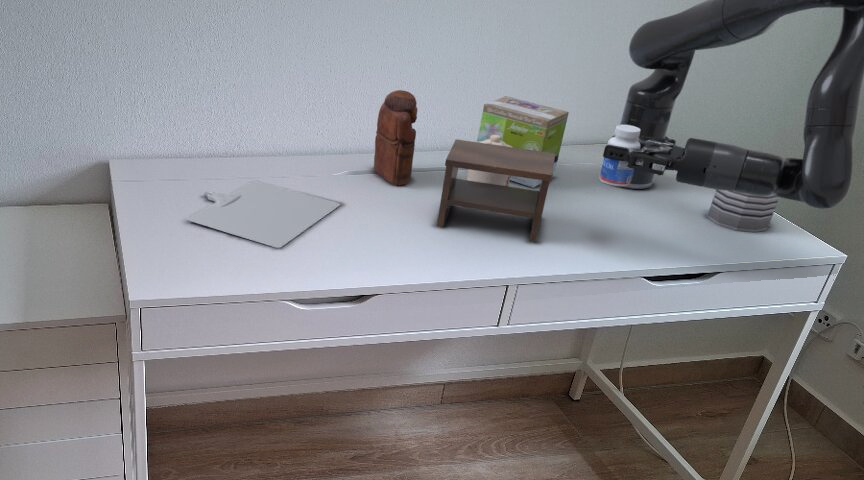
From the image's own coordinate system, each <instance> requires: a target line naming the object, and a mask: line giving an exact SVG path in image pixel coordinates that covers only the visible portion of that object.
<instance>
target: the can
mask: <svg viewBox="0 0 864 480" xmlns="http://www.w3.org/2000/svg"><path fill="white" fill-rule="evenodd" d="M779 199H780V197H776V196H757V195H752V194H746V193H741V192H735V191H727V190H716V189H715V191H714V194H713V198H712V200H711V203H710V207H709V209H708V213H707V219H708V220H710V221H711V222H713V223H715V224H716V225H717V226H720V227H724V228H727V229H729V230H734V231H738V232H747V233H748V232H750V233H758V232H763V231H767V230H768V229H769V227H770V224H771V221H772V218H773V215H774V213H775V210H776V207H777V204H778V202H779Z"/></svg>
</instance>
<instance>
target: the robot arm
mask: <svg viewBox="0 0 864 480" xmlns="http://www.w3.org/2000/svg"><path fill="white" fill-rule="evenodd" d="M821 8H822V9H826V8H827V9H828V8H829V9H830V8H831V9H833V8H834V9H835V8H836V9H839V8H840V9H841V11H842V12H841V13H842V14H841V24H840V29H839V32H838V36H837V38H836V41H835V43H834V45H833V47H832V49H831V51H830V53H829V55H828V56H827V58H826V59H825V61H824V63H823V64H822V66H821V67H820V69H819V70H818V72H817V74H816V76H815V77H814V79H813V81H812V83H811V85H810V88H809V92H808V95H807V100H806V105H805V112H804V122H803V132H802V133H803V136H802V137H803V144H804V148H803V154H802V155H803V156H802V158H797V157H789V156H788V157H787V156H781V155H778V154H776V153H771V152H766V151H761V150H755V149H748V148H744V147H741V146H738V145H734V144H729V143H723V142H717V141H712V140H706V139H702V138H701V139H700V138H694V137H689V138H688V139H687V140H686V143H685V146H684V147H680V146H677V145H676V143H677V140H675V139H673V138H669V137H668V136H666V135H667V132H668V128H669V125H670V122H671V118H672V113H673V111H674V106H675V104H676V102H677V101H676V100H677V98H678V97H679V96H680V94H681V92H682V91H683V88H684V86H685V83H686V80H687V77H688V74H689V71H690V68H691V67H692V66H691V65H692V63H693V60H694V57H695V54H696V51H701V50H703V51H704V50H710V49H718V48H724V47H728V46H729V47H730V46H733V45H736V44H740V43H743V42H746V41H749V40H751V39H755V38H757V37H759V36H761V35H763V34H766V33H767V32H768V31H770V30H771V29H772V28H773V27H774V25H775V24H777V22H778V21H779V19H780V18H782V17H784V16H787V15H791V14H793V13H797V12H802V11H807V10H811V9H821ZM628 53H629V58H630V60H631V61H632V63H633V64H634V65H635V66H637V67H639V68H641V69H645V70H653V71H652V73H651V74H650V75H648V76H647V77H645V78H644V79H642V80H640V81H638V82H635V83H633V84H632V85H631V86H630V87H629V89H628V92H627V95H626V99H625V104H624V108H623V111H622V116H621V120H620V123H619V125H631V126H635V127H638V128H639V129H640V130H641V131H640V135H639V138H638V139H637V141H638V142H639V143H640V149H633V148H630V149H629V150H628V148H625V147H620V146H614V145H607V144H606V145H605V147H604V149H603V154H602V157H603V159H604V158H608V159H614V160H619V161H624V162H625V163H626V164H628V165H627V167H629V168H633V169H634V173H633V176H632V180H631V182H630V184H629V185H627V186H620V188H625V189H633V190H644V189H650V188H651V187H652V185H653V182H654V176H655V175H656V176H664V173H665V171H673V172H674V171H676V175H675V181H676V183H680V184H686V185H690V186H696V187H702V188H706V189H712V190H715V191H716V190H727V191H735V192H741V193H746V194H752V195H757V196H776V197H779V198H780V199H786V200H791V201H795V202H800V203H804V204H805V205H807V206H808V207H810V208H814V209H816V210H826V209H827V210H828V209H831V208H834V207H836V206H838V205H839V204H841V203H842V202H843V201H844V200H845V199H846V198H847V196H848V194H849V192H850V190H851V186H852V179H853V163H854V162H853V161H854V140H855V134H856V131H857V124H858V119H859V118H858V117H859V110H860V104H861V103H860V102H861V95H862V90H863V84H864V0H704V1H702V2H700V3H698V4H696V5H694V6H691V7H688V8H687V9H685V10H683V11H680V12H678V13H675V14H672V15H667V16H665V17H661V18H657V19H653V20H648V21H647V22H645V23H643V24H642V25H640V26H639V27H638V28H637V29H636V31H635V32H634V33H633V36H632V37H631V39H630V41H629V46H628ZM613 137H615V135H612V136H611V138H613Z"/></svg>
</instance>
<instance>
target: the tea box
mask: <svg viewBox="0 0 864 480" xmlns="http://www.w3.org/2000/svg"><path fill="white" fill-rule="evenodd" d="M569 113H570V112H569V111H567V110H563V109H558V108H555V107H550V106H547V105H543V104H538V103H535V102H530V101H528V100H522V99H519V98H515V97H511V96H507V95H505V96H503V97H500V98H498V99H495V100H492V101H490V102H487V103H484V104H483V109H482V113H481V118H480V123H479V130H478V133H477V140H476V142H480V141H484V140H487V139H490V137H491V136H492V135H499V136H500V137H501V141H503V142H505V143H506V144H507V145H510V146H512V147H514V148H521V149H528V150H535V151H542V152H550V153H555V159H554V166H553V174H552V178H554V176H555V172H556V168H557V164H558V160H559V156H560V151H561V148H562V143H563V139H564V134H565V131H566V126H567V121H568V117H569ZM510 181H512V182H515V183H517V184H521V185H524V186H526V187H529V188H532V189H534V188H536V187H538V186H540V185H541V180H537V179H530V178H524V177H517V176H511V177H510Z"/></svg>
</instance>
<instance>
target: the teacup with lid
mask: <svg viewBox="0 0 864 480" xmlns="http://www.w3.org/2000/svg"><path fill="white" fill-rule="evenodd" d="M479 143H486V144H493V145H500V146H507V147H512V146H510V145H507V144H506V143H505V142H503V141H501V137H500V136H499V135H492V136H491V137H490V139H487V140H484V141H480V142H479ZM510 177H511V176H510V175H503V174H497V173H490V172H483V171H477V170H470V169H467V172H466V178H465V180H469V181H475V182H482V183H489V184H495V185H502V186H508V187H510V181H511V180H510Z"/></svg>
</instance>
